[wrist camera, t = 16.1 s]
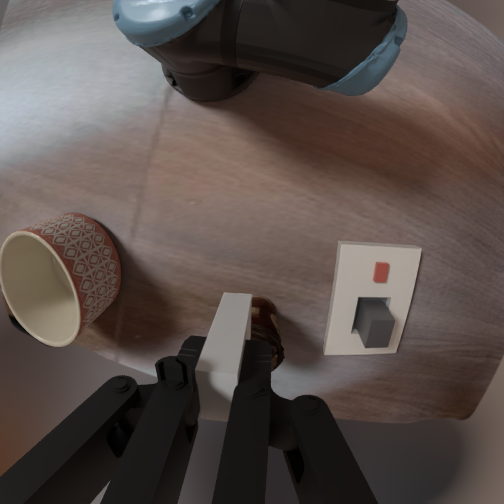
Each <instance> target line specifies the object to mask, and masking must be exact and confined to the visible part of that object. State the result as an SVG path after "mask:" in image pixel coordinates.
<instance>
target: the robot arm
mask: <svg viewBox="0 0 504 504" xmlns="http://www.w3.org/2000/svg"><path fill="white" fill-rule="evenodd" d="M397 2H398V0H114V4H113V18H114V21H115V24H116V25H117V27H118V29H119V30H120V31H121V32H122V33H123V34H124V35H125V36H126V38H127V39H128V40H129V41H130V42H131V43H133V44H135V45H136V46H139V47H140V48H142V49H143V50H144V51H146V52H147V53H148V54H150V55H151V56H152V57H154V58H155V59H156V60H158V61H159V62H160V63H161V65H162V70H163V73H164V76H165V78H166V79H167V81H168V82H169V84H170V85H171V86H172V87H173V88H174V89H175V90H177V91H178V92H179V93H181V94H182V95H184V96H186V97H188V98H190V99H193V100H197V101H203V102H213V101H220V100H224V99H227V98H230V97H232V96H235V95H237V94H238V93H240V92H241V91H243V90H244V89H246V88H247V87H248V86H249V85H250V84H251V83H252V82H253V81H254V79H255V78H256V76H257V75H258V73H259V72H262V73H266V74H271V75H275V76H279V77H283V78H287V79H291V80H295V81H299V82H302V83H306V84H309V85H313V86H314V87H315V88H317V89H319V90H330V91H334V92H337V93H341V94H344V95H348V96H357V95H363V94H365V93H367V92H369V91H370V90H372V89H373V88H374V87H375V86H377V85H378V84H379V83H380V82H381V80H382V79H383V78H384V77H385V76H386V74H387V73H388V72H389V70H390V69H391V67H392V66H393V64H394V62H395V61H396V59H397V57H398V55H399V53H400V50H401V49H400V45H401V43H402V42H403V41H404V39H405V36H406V32H407V17H406V15H405V13H404V11H403V10H402V9H400V7H399V6H398V5H397ZM251 304H252V294H241V293H225V292H224V294H223V297H222V299H221V302H220V305H219V307H218V310H217V312H216V315H215V318H214V320H213V323H212V326H211V328H210V331H209V334H208V336H207V337H201V336H190V337H189V338H188V339H186V340H185V341H184V343H183V345H182V347H181V349H180V351H179V353H178V355H177V356H168V357H164V358H162V359H160V360H158V361H157V362H156V364H155V367H156V372H157V377H158V382H157V383H155V384H148V385H137V383H136V381H135V379H133V378H131V377H129V376H125V375H124V376H123V375H121V376H116V377H112V378H111V379H109V380H108V381H107V382H106V383H104V384H103V385H102V386H101V387H100V388H99V389H98V390H97V391H96V392H95V393H93V394H92V395H91V396H90V397H89V398H88V399H87V400H85V401H84V402H83V403H82V404H81V405H80V406H79V407H78V408H77V409H76V410H75V411H73V412H72V413H71V414H70V415H69V416H68V417H67V418H65V419H64V420H63V421H62V422H61V423H60V424H59V425H58V426H57V427H55V428H54V429H53V430H52V431H51V432H50V433H49V434H47V435H46V436H45V437H44V438H43V439H42V440H41V441H40V442H39V443H37V444H36V445H35V446H34V447H33V448H32V449H31V450H30V451H29V452H27V453H26V454H25V455H24V456H23V457H22V458H21V459H20V460H18V461H17V462H16V463H15V464H14V465H13V466H12V467H11V468H10V469H8V470H7V471H6V472H5V473H4V474H3V475H2V476H1V477H0V504H90V503H91V502H92V501H93V500H94V499H95V497H96V496H97V495H98V494H99V493H100V492H101V491H102V489H103V488H104V487H105V486H106V485H107V484H108V482H109V481H110V480H111V481H110V483H109V485H108V487H107V490H106V492H105V494H104V496H103V499H102V501H101V503H100V504H177V503H178V499H179V496H180V492H181V488H182V485H183V481H184V478H185V474H186V470H187V467H188V463H189V460H190V456H191V452H192V448H193V445H194V442H195V438H196V434H197V431H198V420H197V419H198V415H199V412H200V416H201V418H202V419H209V420H217V421H227V422H228V423H227V429H226V434H225V439H224V445H223V449H222V454H221V460H220V464H219V470H218V475H217V480H216V485H215V490H214V495H213V500H212V504H265V491H266V477H267V460H268V446H272V447H275V448H278V449H282V450H283V454H284V457H285V460H286V464H287V467H288V470H289V473H290V475H291V479H292V482H293V485H294V488H295V491H296V494H297V497H298V500H299V503H300V504H378V502H377V500H376V498H375V497H374V495H373V493H372V491H371V489H370V487H369V485H368V483H367V481H366V479H365V477H364V475H363V473H362V471H361V470H360V468H359V466H358V464H357V462H356V460H355V458H354V456H353V454H352V452H351V450H350V448H349V446H348V445H347V442H346V441H345V439H344V437H343V435H342V433H341V431H340V429H339V427H338V425H337V423H336V421H335V419H334V417H333V415H332V413H331V411H330V410H329V408H328V406H327V404H326V403H325V402H324V400H323V399H321V398H319V397H317V396H313V395H302V396H298V397H296V398H295V399H294V400H288V399H285V398H282V397H280V396H278V395H277V394H276V393H275V392H274V391H273V390H272V388H271V360H272V347H271V345H270V344H269V342H268V341H262V340H250V337H251Z"/></svg>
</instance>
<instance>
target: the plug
mask: <svg viewBox="0 0 504 504" xmlns="http://www.w3.org/2000/svg"><path fill="white" fill-rule="evenodd" d="M394 324H395V319H394V317H393V316H392V314H391V313H390V311H389V310H388V308H387V307H386V306H385V304H384V303H383V301H382V300H360V303H359V308H358V313H357V318H356V323H355V327H356V329H357V331H358V333H359V336H360V338H361V340H362V343H363V345H364V347H365V348H386V347H388V345H389V342H390V338H391V335H392V331H393V328H394Z"/></svg>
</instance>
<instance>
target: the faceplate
mask: <svg viewBox="0 0 504 504" xmlns="http://www.w3.org/2000/svg"><path fill="white" fill-rule="evenodd" d="M421 251H422V249H421V248H419V247H418V246H415V245H400V244H385V243H369V242H352V241H338V249H337V258H336V266H335V274H334V281H333V289H332V296H331V302H330V309H329V315H328V321H327V327H326V333H325V339H324V344H323V352H324V355H362V354H386V353H396V351H397V348H398V345H399V341H400V338H401V335H402V332H403V328H404V325H405V321H406V317H407V314H408V310H409V306H410V302H411V298H412V294H413V290H414V285H415V281H416V276H417V272H418V267H419V261H420V256H421ZM360 300H382V301H383V303H384V304H385V306H386V307H387V308H388V310H389V311H390V313H391V314H392V316H393V317H394V319H395V324H394V328H393V331H392V335H391V338H390V342H389V345H388V347H386V348H365V347H364V345H363V343H362V340H361V338H360V336H359V333H358V331H357V329H356V327H355V323H356V318H357V313H358V308H359V303H360Z"/></svg>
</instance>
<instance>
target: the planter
mask: <svg viewBox="0 0 504 504" xmlns="http://www.w3.org/2000/svg"><path fill="white" fill-rule="evenodd" d="M0 282H1V286H2V290H3V293H4V296H5V298H6V301H7V303H8V305H9V307H10V309H11V311H12V312H13V314H14V316H15V317H16V319H17V320H18V321H19V323H20V324H21V325H22V326H23V327H24V329H26V330H27V331H28V332H29V333H30V334H31V335H32V336H33V337H35V338H36V339H38V340H39V341H41V342H43V343H45V344H47V345H50V346H55V347H61V346H66V345H68V344H70V343H71V342H73V341H74V340H75V339H76V338H77V337H78V336H79V335H80V334H81V333H82V332H83V331H84V330H85V329H86V328H87V327H88V326H89V325H90V324H91V323H92V322H93V321H94V320H95V319H96V318H97V317H98V316H99V315H100V314H101V313H102V312H103V311H104V310H105V309H106V308H107V307H108V306H109V305H110V304H111V303H112V302H113V301H114V300H115V298H116V296H117V294H118V292H119V289H120V285H121V266H120V261H119V257H118V254H117V251H116V249H115V246H114V244H113V242H112V240H111V239H110V237H109V236H108V234H107V233H106V232H105V230H104V229H103V228H102V227H101V226H100V225H99V224H98V223H97V222H95V221H94V220H93V219H91V218H89V217H87V216H85V215H82V214H78V213H67V214H64V215H61V216H58V217H55V218H52V219H49V220H46V221H44V222H41V223H38V224H35V225H33V226H30V227H27V228H24V229H22V230H19V231H17V232H14V233H12V234H11V235H10V236H9V237H8V238H7V239H6V240H5V242H4V244H3V246H2V248H1V252H0Z"/></svg>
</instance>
